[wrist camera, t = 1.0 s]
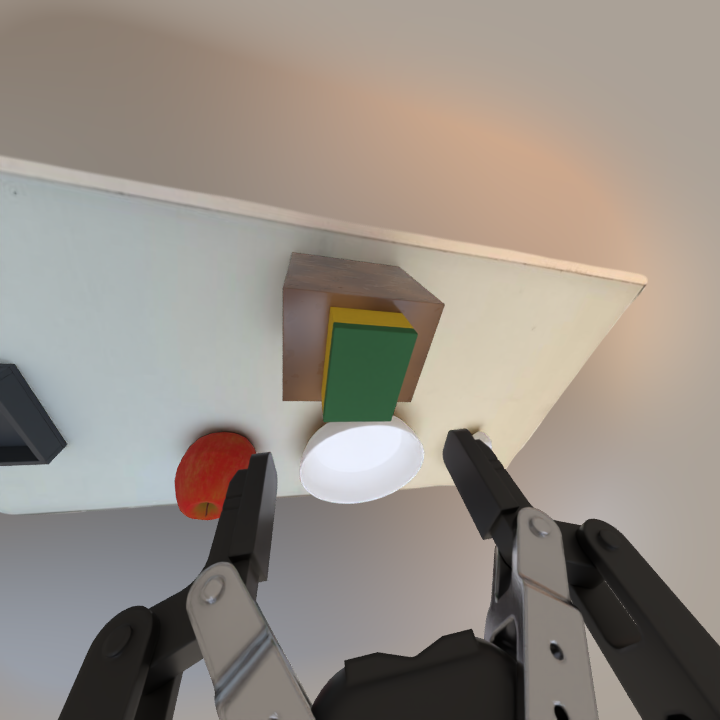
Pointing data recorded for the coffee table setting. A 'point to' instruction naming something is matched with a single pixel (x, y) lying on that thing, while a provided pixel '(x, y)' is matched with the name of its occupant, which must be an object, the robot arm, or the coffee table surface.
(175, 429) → the coffee table surface
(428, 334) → the wooden block
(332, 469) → the bowl
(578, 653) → the robot arm
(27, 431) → the tray
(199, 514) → the apple
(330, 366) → the sponge
